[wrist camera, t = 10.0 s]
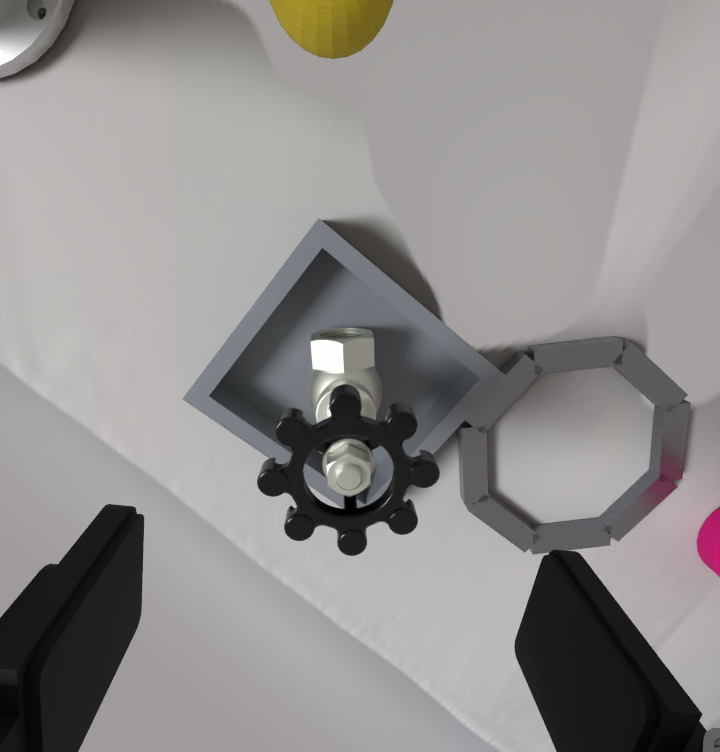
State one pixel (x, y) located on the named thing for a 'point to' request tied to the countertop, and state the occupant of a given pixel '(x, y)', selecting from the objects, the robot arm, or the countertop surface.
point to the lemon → (332, 24)
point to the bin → (294, 358)
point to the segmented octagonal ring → (635, 501)
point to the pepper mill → (710, 542)
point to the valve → (347, 445)
